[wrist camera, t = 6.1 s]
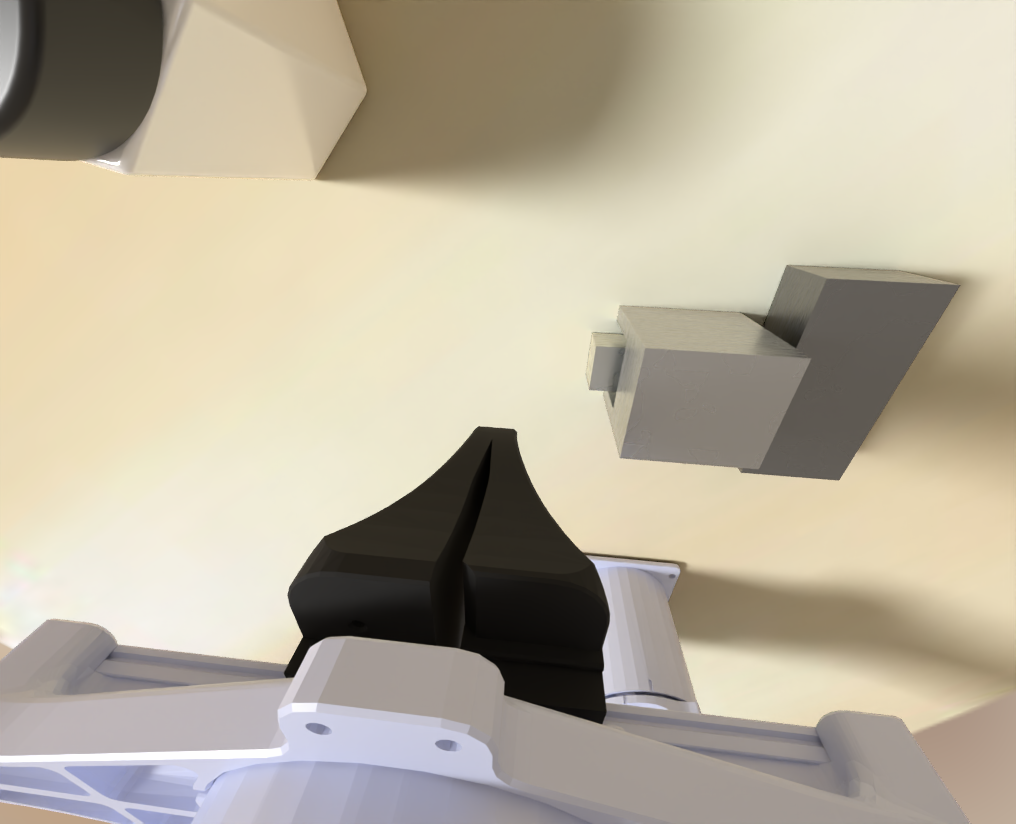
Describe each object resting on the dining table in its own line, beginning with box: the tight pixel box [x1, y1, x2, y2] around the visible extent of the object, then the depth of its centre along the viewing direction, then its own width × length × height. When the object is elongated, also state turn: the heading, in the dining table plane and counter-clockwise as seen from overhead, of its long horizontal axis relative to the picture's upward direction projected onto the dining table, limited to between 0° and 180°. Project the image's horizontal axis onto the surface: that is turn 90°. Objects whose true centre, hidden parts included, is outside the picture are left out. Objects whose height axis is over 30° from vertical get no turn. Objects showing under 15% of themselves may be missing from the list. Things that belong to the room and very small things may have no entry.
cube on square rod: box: [603, 306, 811, 469], centre depth 18 cm, size 5×6×6 cm
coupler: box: [586, 265, 960, 480], centre depth 19 cm, size 10×14×3 cm
